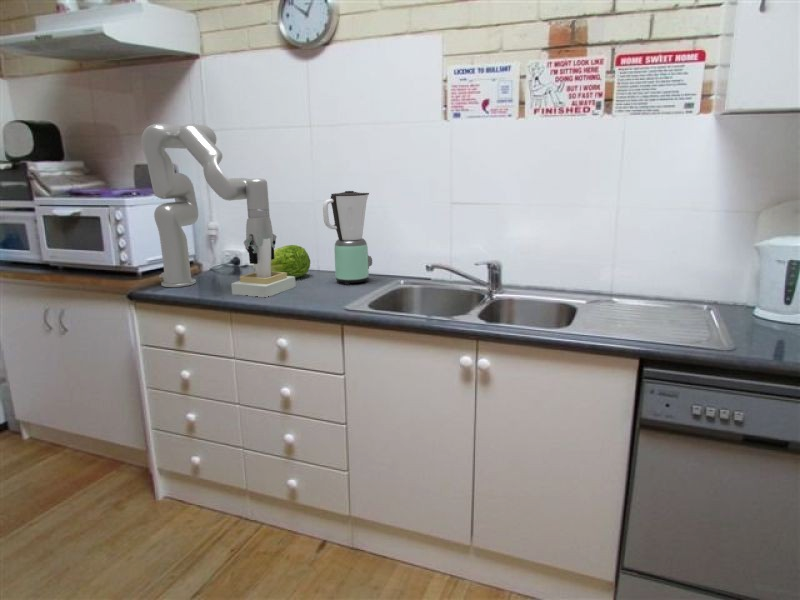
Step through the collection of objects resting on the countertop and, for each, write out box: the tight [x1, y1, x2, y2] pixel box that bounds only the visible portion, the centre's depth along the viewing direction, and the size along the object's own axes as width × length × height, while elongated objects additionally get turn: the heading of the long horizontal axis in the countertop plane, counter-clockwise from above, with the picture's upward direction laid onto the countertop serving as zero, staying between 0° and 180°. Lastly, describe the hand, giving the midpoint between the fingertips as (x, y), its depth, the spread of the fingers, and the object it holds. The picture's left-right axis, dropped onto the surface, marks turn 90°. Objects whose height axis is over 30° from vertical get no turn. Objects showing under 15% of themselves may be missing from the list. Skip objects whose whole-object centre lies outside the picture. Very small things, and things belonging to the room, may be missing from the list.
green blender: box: [322, 190, 373, 286], centre depth 206 cm, size 19×13×35 cm
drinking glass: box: [252, 238, 271, 278], centre depth 196 cm, size 7×7×15 cm
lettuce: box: [252, 244, 311, 279], centre depth 220 cm, size 15×24×14 cm, turn 72°
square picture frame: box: [230, 271, 297, 298], centre depth 198 cm, size 15×19×6 cm
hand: (262, 261), depth 196 cm, fingers open, 9 cm apart
